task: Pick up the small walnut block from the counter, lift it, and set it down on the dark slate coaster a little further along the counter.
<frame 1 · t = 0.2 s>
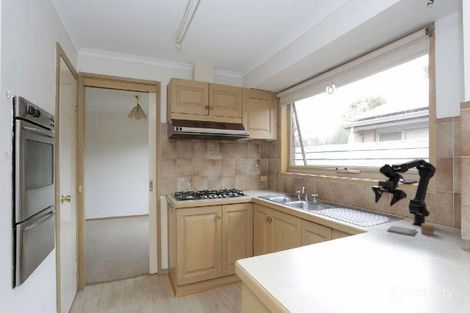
hand: (382, 204, 142), 15 cm above the countertop, fingers open, 9 cm apart
slate coaster: (402, 231, 137), on the countertop
walnut block: (427, 233, 133), on the countertop
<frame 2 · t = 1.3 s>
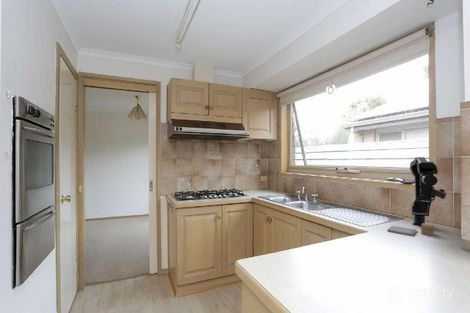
hand: (426, 212, 133), 12 cm above the countertop, fingers open, 9 cm apart
nothing on the countertop moved.
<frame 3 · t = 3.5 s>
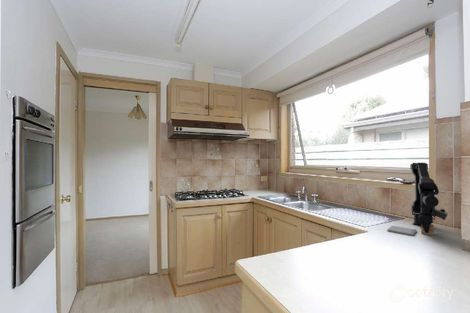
hand: (427, 231, 133), 1 cm above the countertop, fingers closed on walnut block, 5 cm apart
walnut block: (427, 233, 133), on the countertop, touching gripper
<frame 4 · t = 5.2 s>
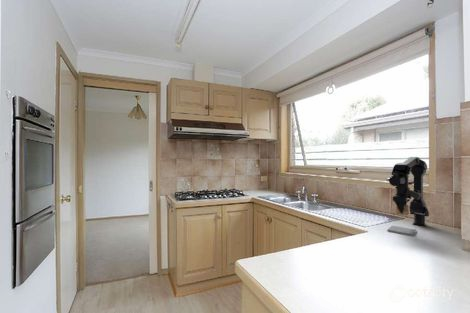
hand: (402, 212, 137), 11 cm above the countertop, fingers closed on walnut block, 5 cm apart
walnut block: (402, 214, 137), point 10 cm above the countertop, touching gripper
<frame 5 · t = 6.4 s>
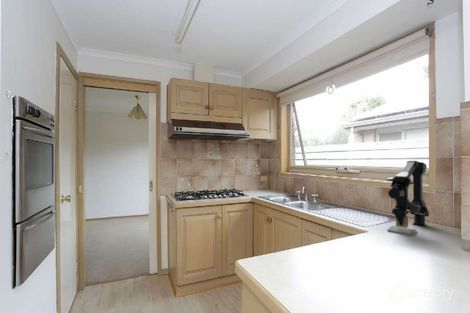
hand: (402, 224, 137), 4 cm above the countertop, fingers closed on walnut block, 5 cm apart
walnut block: (402, 226, 137), point 3 cm above the countertop, touching gripper
when the fingers open (3 cm above the countertop, at t = 7.3 s): walnut block drops 1 cm, resting on slate coaster.
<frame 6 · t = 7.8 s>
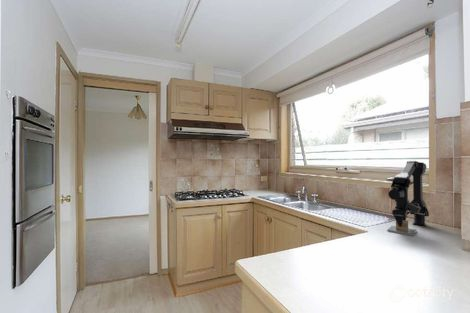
hand: (402, 225, 137), 3 cm above the countertop, fingers open, 9 cm apart
walnut block: (402, 229, 137), point 1 cm above the countertop, touching slate coaster
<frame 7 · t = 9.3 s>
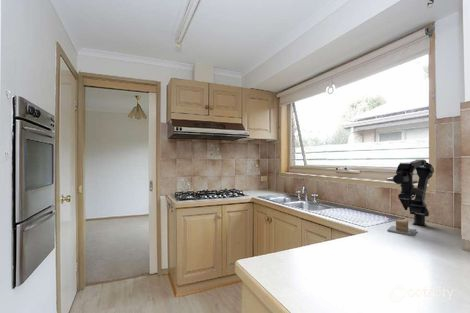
hand: (407, 208, 144), 12 cm above the countertop, fingers open, 9 cm apart
nothing on the countertop moved.
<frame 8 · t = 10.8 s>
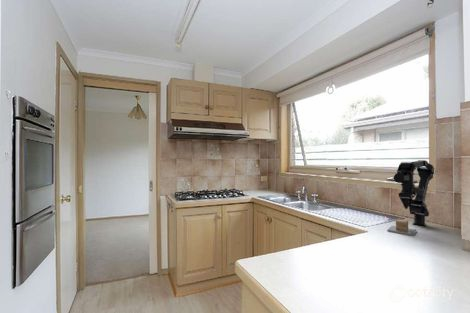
hand: (407, 207, 145), 12 cm above the countertop, fingers open, 9 cm apart
nothing on the countertop moved.
at the end: walnut block inside the target area on the slate coaster (0.0 cm from its centre), point 1.0 cm above the slate coaster's base; walnut block tilted 0°; the gripper is holding nothing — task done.
